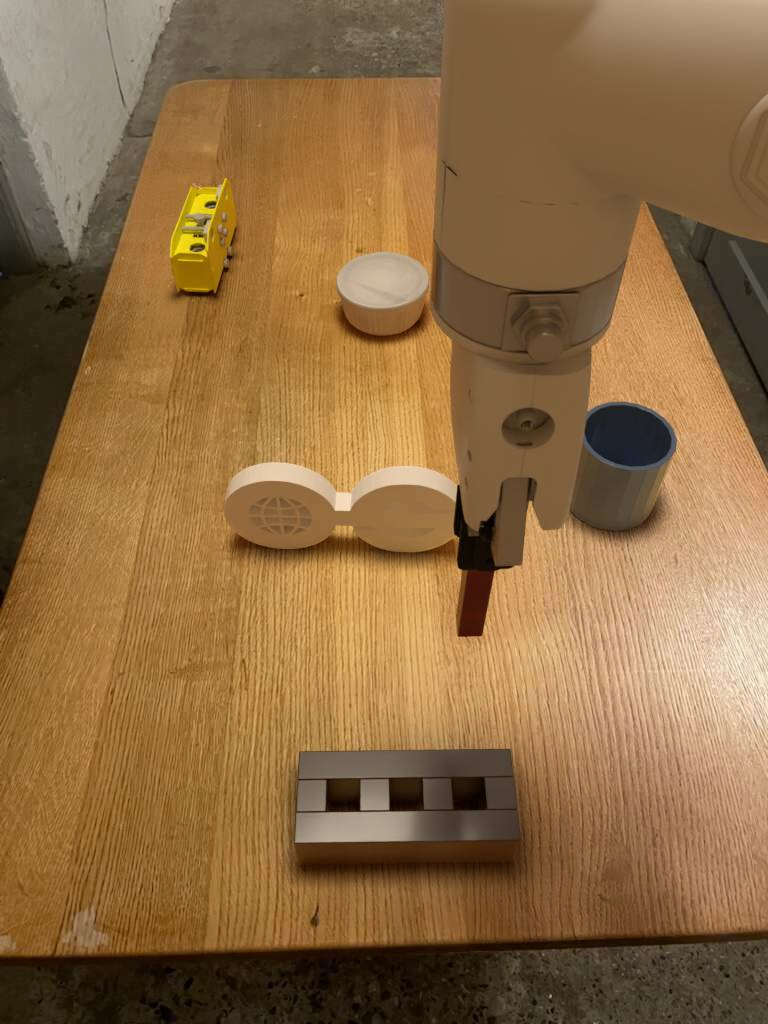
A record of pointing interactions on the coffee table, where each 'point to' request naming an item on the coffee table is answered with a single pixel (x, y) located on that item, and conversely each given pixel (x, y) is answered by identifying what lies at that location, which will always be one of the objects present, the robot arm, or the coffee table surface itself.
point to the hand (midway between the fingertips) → (483, 547)
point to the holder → (406, 832)
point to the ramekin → (382, 292)
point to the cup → (621, 465)
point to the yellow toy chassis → (203, 238)
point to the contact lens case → (341, 507)
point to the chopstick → (473, 602)
